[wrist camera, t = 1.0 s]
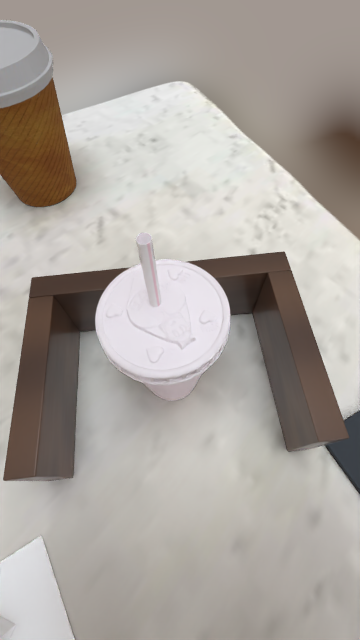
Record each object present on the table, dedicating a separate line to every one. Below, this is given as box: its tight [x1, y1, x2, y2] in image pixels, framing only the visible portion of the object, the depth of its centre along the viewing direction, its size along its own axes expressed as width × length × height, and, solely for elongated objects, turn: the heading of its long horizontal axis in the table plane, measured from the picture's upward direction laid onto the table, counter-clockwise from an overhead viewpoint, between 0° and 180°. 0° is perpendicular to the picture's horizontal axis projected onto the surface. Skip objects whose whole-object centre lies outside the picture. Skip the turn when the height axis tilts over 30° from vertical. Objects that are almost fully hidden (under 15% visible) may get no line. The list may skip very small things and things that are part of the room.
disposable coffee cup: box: [0, 20, 76, 207], centre depth 27 cm, size 10×10×12 cm
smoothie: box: [95, 233, 230, 401], centre depth 17 cm, size 6×6×14 cm
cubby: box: [3, 252, 349, 481], centre depth 20 cm, size 12×17×6 cm
